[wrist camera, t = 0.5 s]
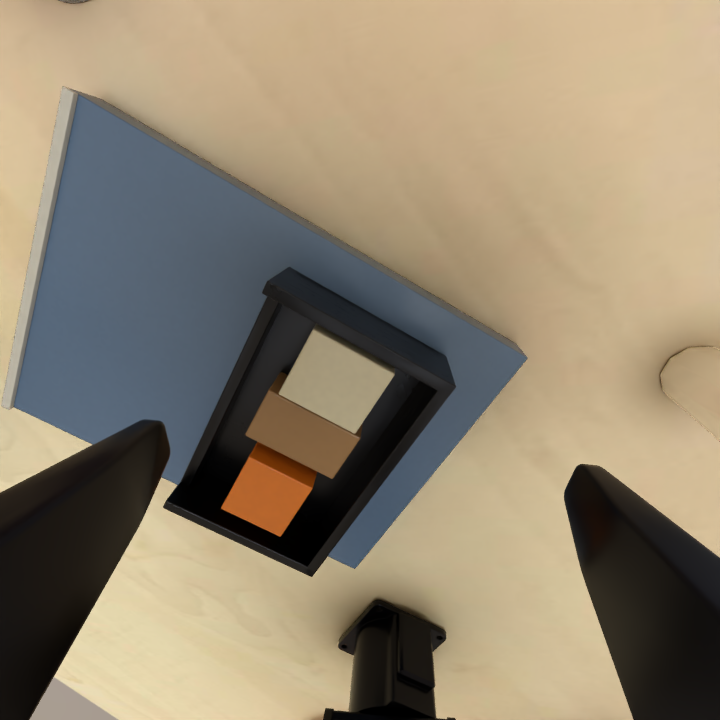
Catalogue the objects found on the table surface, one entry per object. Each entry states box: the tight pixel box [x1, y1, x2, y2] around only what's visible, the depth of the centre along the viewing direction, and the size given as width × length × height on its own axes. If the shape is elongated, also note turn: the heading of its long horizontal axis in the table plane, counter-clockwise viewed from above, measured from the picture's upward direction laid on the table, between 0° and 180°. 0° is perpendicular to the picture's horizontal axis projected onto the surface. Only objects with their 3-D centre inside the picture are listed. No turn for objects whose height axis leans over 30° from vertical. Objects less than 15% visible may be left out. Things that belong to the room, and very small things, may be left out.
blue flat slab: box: [1, 86, 527, 569], centre depth 22 cm, size 18×24×2 cm
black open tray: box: [163, 267, 456, 577], centre depth 20 cm, size 14×9×4 cm, turn 151°
